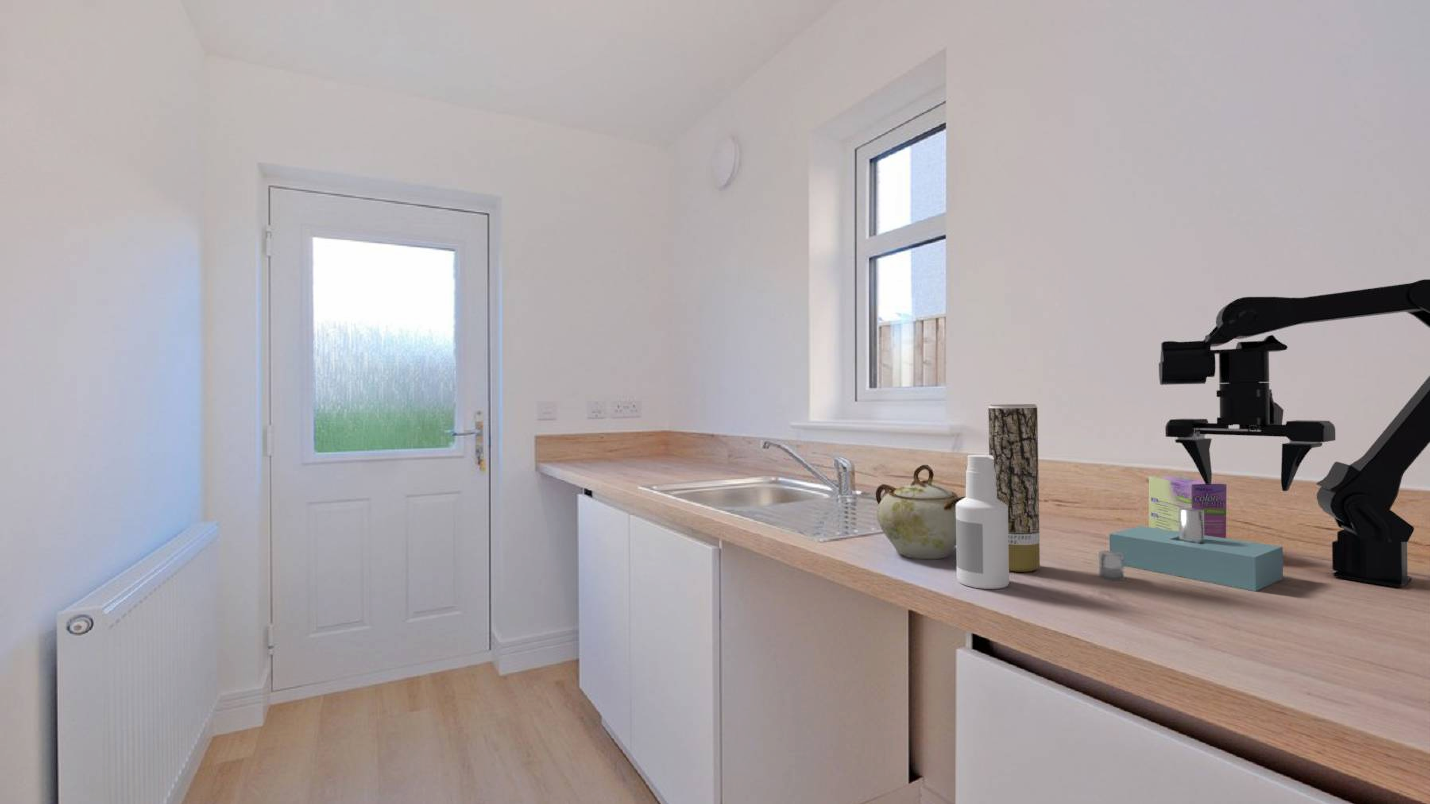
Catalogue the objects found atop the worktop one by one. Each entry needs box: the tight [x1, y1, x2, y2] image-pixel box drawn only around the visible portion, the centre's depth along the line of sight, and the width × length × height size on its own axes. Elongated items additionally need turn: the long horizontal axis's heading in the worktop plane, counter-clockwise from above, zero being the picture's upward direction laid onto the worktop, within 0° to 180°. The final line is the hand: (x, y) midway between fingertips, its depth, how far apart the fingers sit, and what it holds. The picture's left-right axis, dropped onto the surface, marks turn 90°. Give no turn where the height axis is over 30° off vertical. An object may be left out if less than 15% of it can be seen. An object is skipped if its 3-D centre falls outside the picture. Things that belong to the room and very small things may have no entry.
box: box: [1148, 475, 1227, 538], centre depth 105 cm, size 10×6×12 cm, turn 179°
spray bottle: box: [955, 454, 1010, 590], centre depth 89 cm, size 7×7×18 cm
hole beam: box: [1109, 525, 1284, 592], centre depth 93 cm, size 18×10×4 cm, turn 32°
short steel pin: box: [1098, 550, 1125, 581], centre depth 90 cm, size 3×3×4 cm
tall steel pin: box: [1179, 508, 1204, 544], centre depth 93 cm, size 3×3×9 cm
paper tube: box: [987, 403, 1041, 573], centre depth 96 cm, size 7×7×25 cm
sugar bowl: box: [875, 464, 966, 560], centre depth 106 cm, size 20×15×15 cm
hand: (1245, 487), depth 94 cm, fingers open, 9 cm apart
